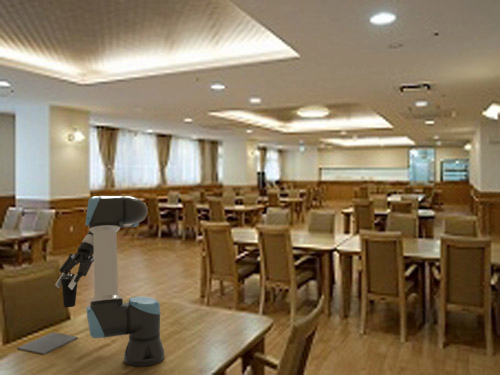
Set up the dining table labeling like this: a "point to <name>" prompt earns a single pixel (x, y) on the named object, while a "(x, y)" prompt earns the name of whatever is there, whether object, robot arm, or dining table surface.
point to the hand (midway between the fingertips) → (63, 287)
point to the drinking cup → (68, 289)
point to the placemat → (48, 343)
